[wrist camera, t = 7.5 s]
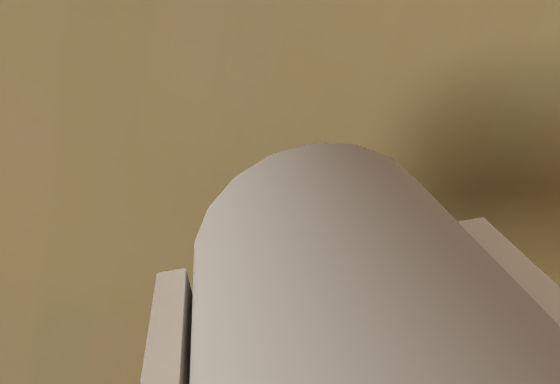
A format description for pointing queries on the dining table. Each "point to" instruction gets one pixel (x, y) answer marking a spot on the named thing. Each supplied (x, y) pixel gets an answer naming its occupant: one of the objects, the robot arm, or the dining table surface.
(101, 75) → the dining table surface
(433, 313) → the can
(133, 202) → the dining table surface
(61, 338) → the dining table surface
